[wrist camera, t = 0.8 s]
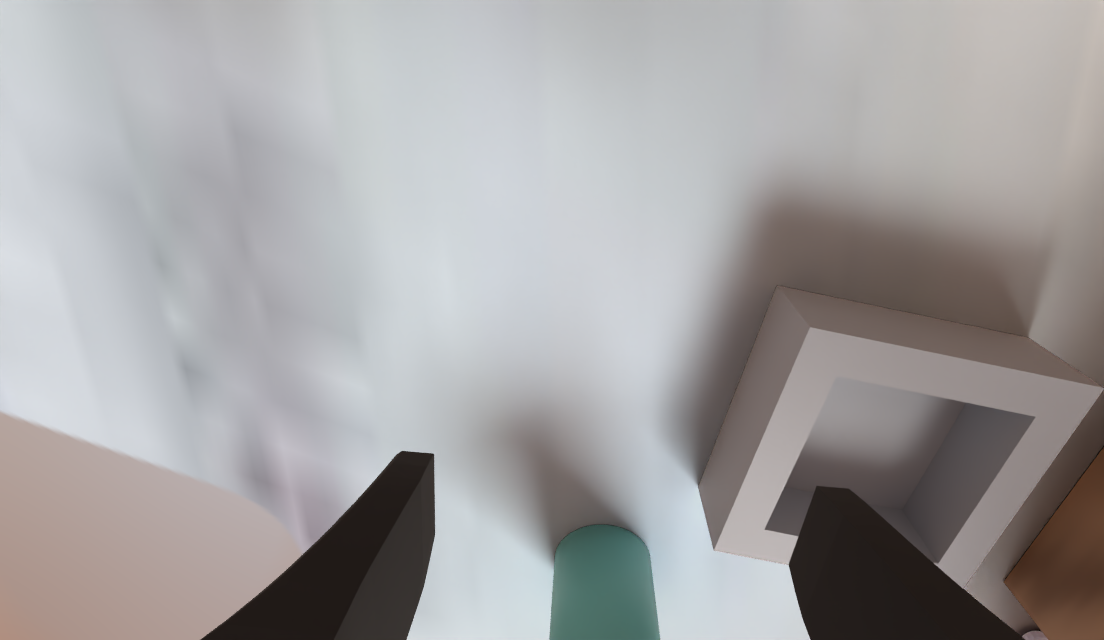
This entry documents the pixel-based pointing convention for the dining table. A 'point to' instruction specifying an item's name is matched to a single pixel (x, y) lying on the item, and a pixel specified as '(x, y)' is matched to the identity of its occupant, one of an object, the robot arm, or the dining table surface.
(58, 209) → the dining table surface
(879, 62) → the dining table surface
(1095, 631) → the rail
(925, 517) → the socket block
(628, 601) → the dowel
